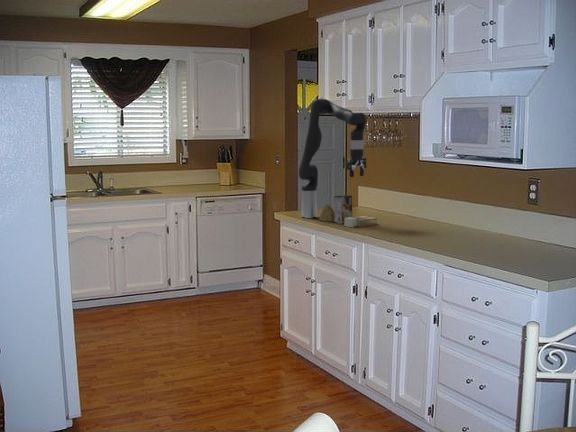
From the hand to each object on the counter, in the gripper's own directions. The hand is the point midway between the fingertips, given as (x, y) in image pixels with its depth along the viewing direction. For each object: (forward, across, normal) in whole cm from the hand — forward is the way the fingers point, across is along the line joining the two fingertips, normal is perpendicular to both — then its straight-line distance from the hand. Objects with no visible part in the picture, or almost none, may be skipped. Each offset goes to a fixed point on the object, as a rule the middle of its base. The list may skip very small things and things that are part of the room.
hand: (356, 176), depth 382 cm
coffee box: (+29, -3, -13) cm, 32 cm away
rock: (+29, -1, -24) cm, 38 cm away
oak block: (+29, -6, 0) cm, 29 cm away
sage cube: (+28, +6, 0) cm, 29 cm away
